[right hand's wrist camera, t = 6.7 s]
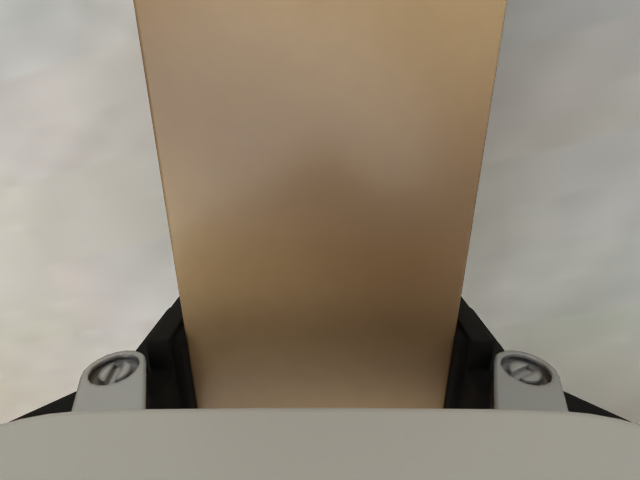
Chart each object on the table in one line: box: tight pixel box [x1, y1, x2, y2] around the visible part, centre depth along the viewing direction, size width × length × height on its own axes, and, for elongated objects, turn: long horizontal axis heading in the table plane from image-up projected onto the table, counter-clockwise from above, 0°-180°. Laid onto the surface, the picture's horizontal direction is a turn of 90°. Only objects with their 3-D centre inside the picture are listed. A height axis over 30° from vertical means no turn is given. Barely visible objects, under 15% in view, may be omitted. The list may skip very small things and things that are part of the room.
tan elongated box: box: [133, 0, 507, 409], centre depth 12 cm, size 20×6×11 cm, turn 0°
